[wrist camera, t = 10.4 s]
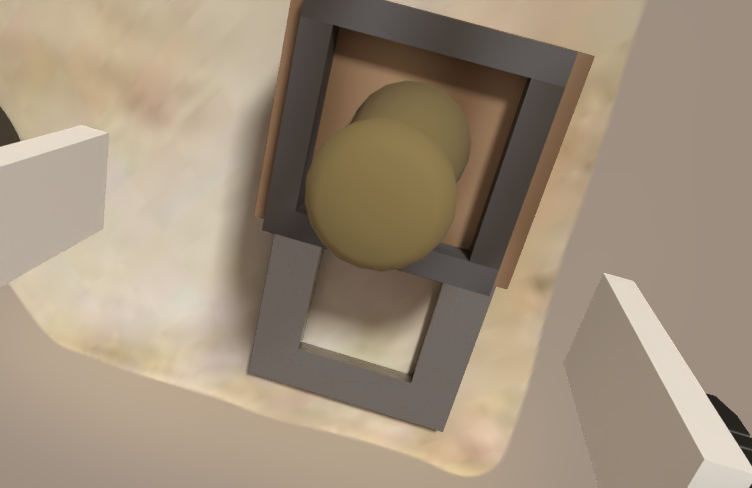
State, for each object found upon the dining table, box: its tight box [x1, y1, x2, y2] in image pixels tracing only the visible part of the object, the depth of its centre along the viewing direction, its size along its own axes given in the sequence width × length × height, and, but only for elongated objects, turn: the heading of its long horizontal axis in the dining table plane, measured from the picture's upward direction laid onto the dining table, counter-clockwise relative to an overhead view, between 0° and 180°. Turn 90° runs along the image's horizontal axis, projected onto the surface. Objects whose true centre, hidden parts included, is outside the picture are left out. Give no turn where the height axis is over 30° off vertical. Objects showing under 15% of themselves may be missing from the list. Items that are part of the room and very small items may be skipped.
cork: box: [305, 80, 471, 271], centre depth 23 cm, size 6×6×11 cm
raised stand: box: [254, 0, 595, 296], centre depth 32 cm, size 14×12×12 cm
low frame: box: [248, 234, 496, 432], centre depth 43 cm, size 16×16×1 cm
